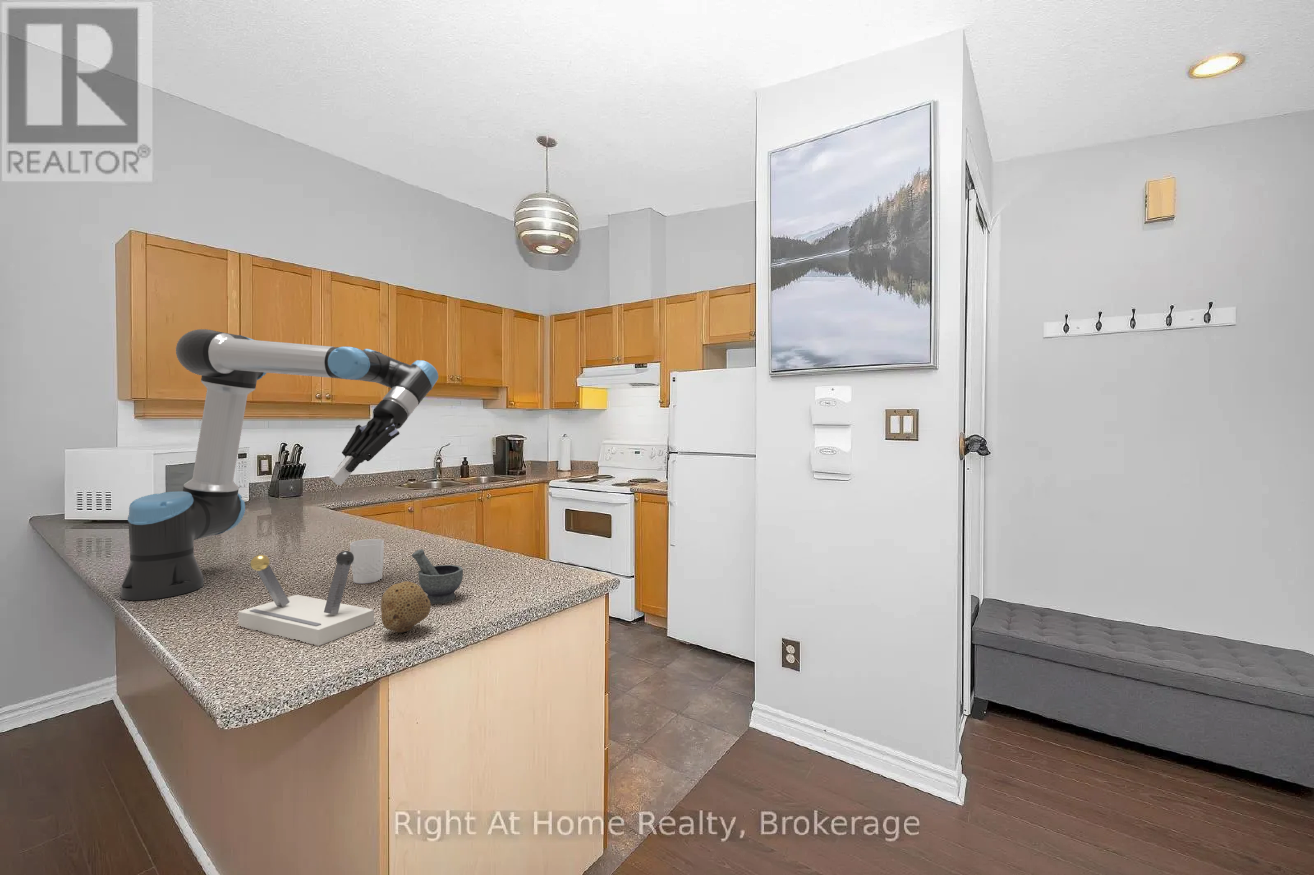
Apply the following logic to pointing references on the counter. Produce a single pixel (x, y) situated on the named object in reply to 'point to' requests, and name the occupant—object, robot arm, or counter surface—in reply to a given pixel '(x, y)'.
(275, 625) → the control panel
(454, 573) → the mortar and pestle
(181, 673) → the counter surface
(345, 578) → the black lever
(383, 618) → the natural sponge
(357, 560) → the white cup
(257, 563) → the brass lever
